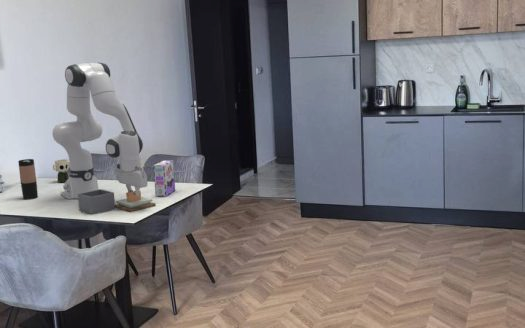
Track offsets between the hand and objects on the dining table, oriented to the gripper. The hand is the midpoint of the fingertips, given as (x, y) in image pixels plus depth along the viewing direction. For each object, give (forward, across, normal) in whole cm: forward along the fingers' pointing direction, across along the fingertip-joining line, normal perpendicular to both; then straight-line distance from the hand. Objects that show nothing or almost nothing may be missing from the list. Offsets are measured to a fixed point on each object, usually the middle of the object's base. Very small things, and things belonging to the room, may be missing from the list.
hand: (133, 194), depth 269 cm
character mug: (+6, +87, -7) cm, 87 cm away
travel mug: (+6, +63, +23) cm, 67 cm away
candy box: (+6, +10, -25) cm, 28 cm away
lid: (+5, 0, 0) cm, 5 cm away
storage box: (+6, +10, +14) cm, 18 cm away
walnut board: (+6, 0, 0) cm, 6 cm away
